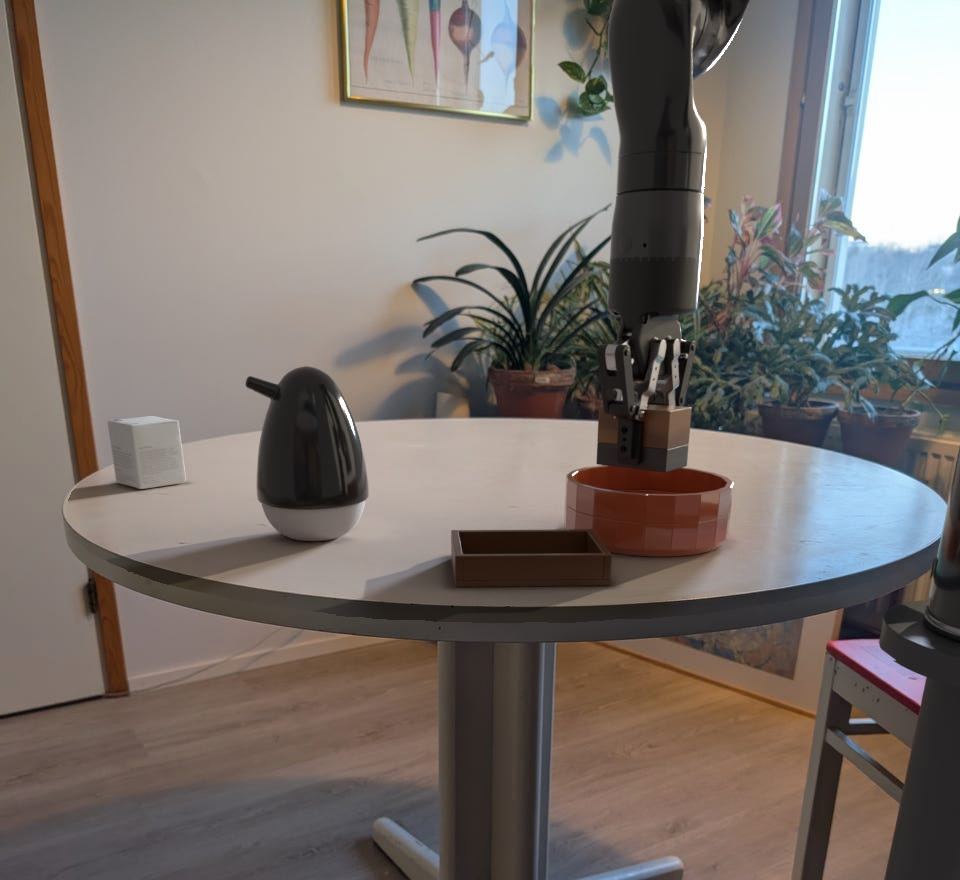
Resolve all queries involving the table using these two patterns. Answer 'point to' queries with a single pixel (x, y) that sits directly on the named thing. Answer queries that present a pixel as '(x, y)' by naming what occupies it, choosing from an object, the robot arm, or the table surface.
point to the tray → (529, 558)
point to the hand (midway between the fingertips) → (642, 459)
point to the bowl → (650, 509)
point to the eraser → (650, 438)
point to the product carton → (147, 451)
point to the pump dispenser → (309, 457)
